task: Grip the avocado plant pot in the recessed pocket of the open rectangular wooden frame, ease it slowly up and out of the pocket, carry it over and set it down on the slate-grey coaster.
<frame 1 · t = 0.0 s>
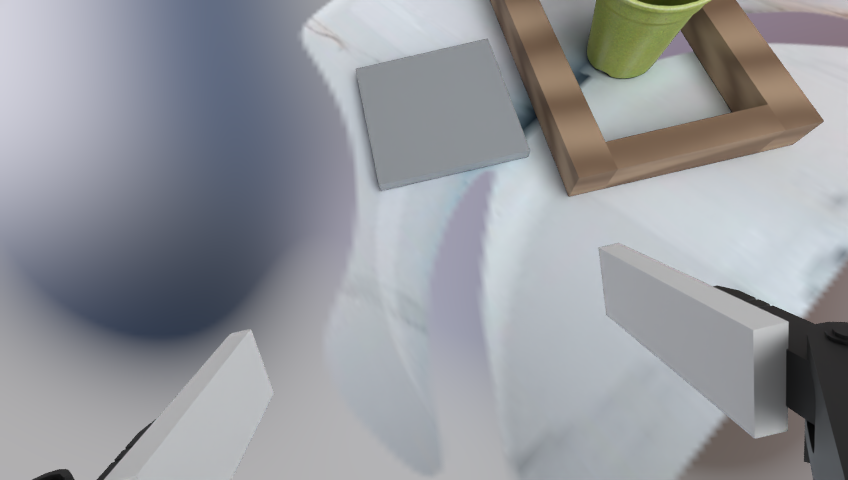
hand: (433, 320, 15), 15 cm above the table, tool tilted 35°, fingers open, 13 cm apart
open rectangular wooden frame: (619, 54, 38), on the table
plant pot: (618, 56, 38), resting in open rectangular wooden frame
slate coaster: (437, 114, 37), on the table
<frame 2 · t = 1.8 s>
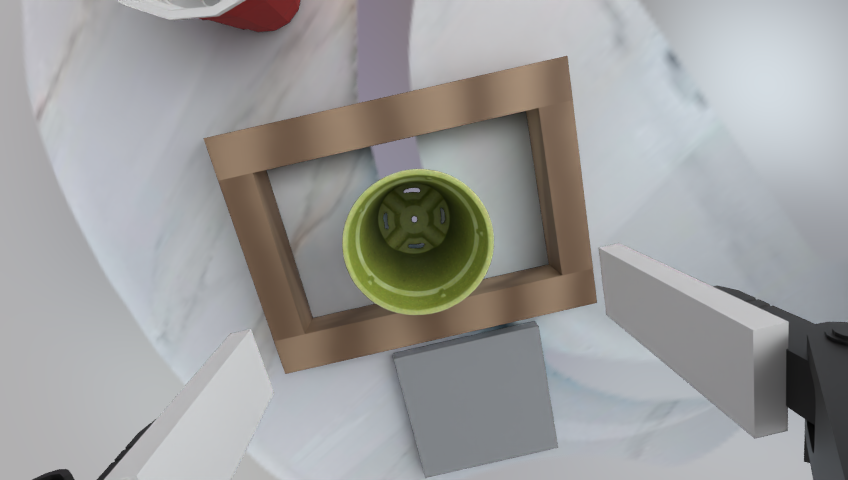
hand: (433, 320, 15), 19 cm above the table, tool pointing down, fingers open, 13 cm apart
open rectangular wooden frame: (414, 219, 33), on the table
plant pot: (414, 218, 33), resting in open rectangular wooden frame
slate coaster: (477, 398, 38), on the table
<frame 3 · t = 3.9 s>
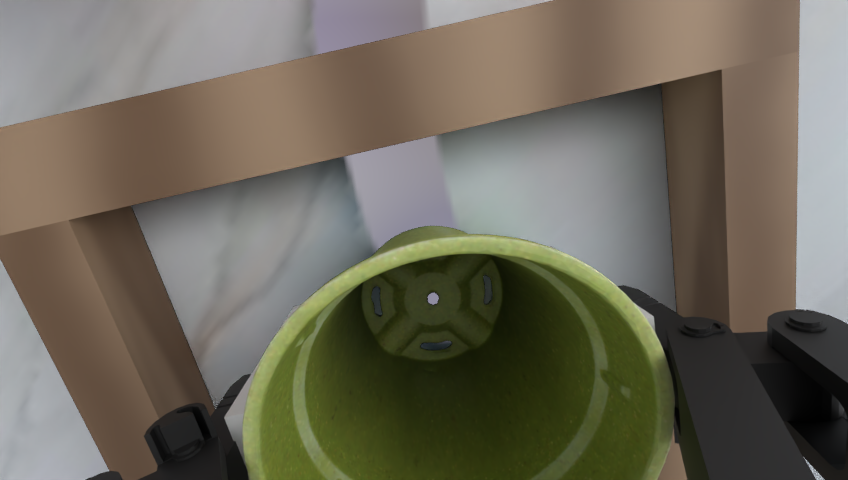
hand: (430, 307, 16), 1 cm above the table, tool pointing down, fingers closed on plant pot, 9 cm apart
open rectangular wooden frame: (432, 296, 17), on the table
plant pot: (431, 294, 17), resting in open rectangular wooden frame, touching gripper
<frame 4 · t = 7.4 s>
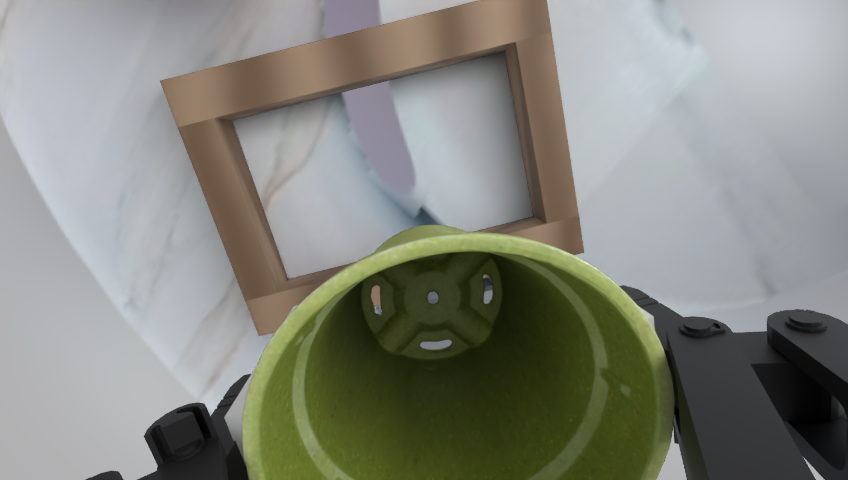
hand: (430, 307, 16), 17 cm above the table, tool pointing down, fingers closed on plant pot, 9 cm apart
open rectangular wooden frame: (390, 170, 32), on the table
plant pot: (431, 293, 17), point 16 cm above the table, touching gripper
slate coaster: (464, 361, 36), on the table
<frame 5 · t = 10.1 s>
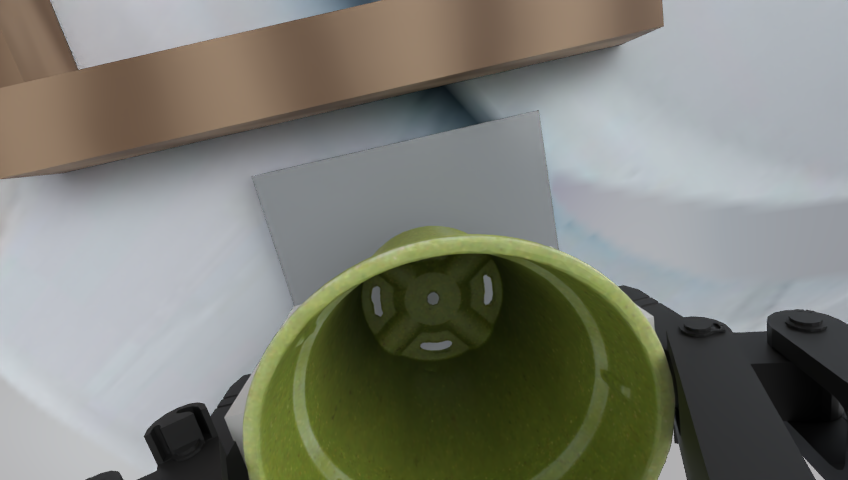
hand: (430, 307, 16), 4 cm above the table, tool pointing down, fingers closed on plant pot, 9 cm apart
plant pot: (431, 294, 17), point 3 cm above the table, touching gripper
slate coaster: (425, 272, 20), on the table
when the fingers open (2 cm above the table, at t = 11.0 s): plant pot moves 4 cm, resting on slate coaster.
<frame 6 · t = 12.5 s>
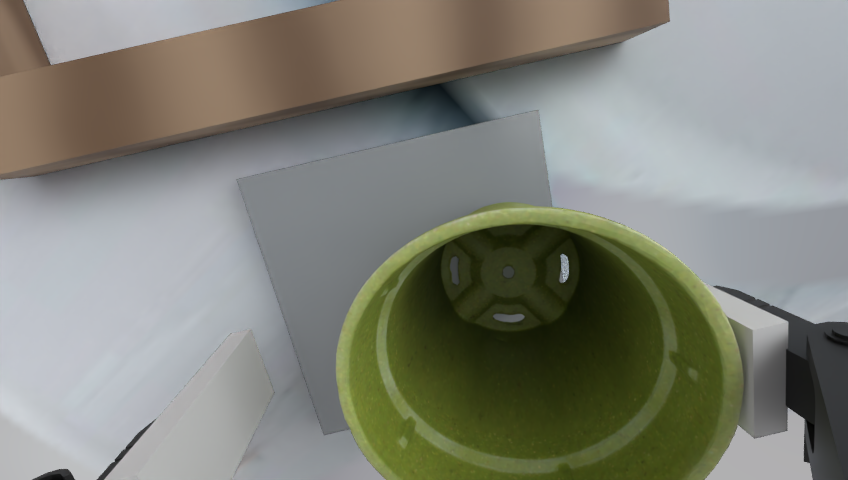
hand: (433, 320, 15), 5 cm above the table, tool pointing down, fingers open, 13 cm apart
plant pot: (507, 268, 18), point 2 cm above the table, touching gripper, slate coaster
slate coaster: (420, 278, 19), on the table
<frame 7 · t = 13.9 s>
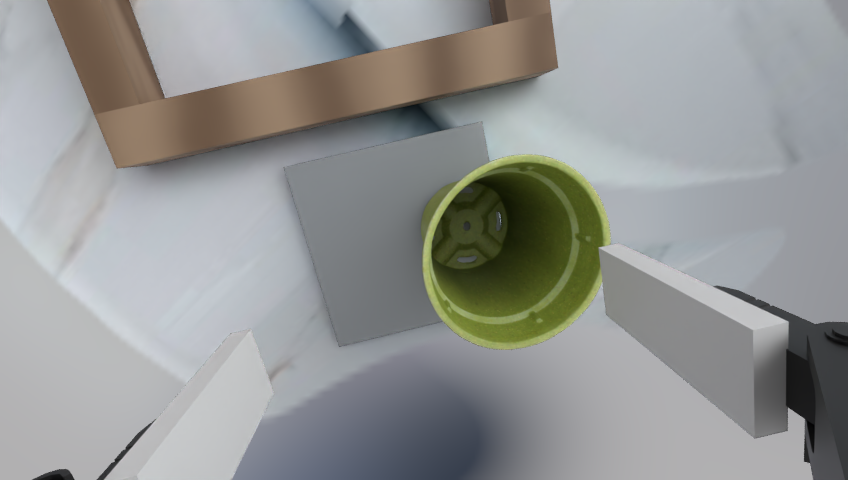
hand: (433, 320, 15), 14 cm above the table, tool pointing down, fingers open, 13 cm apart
plant pot: (463, 226, 27), point 1 cm above the table, touching slate coaster
slate coaster: (406, 236, 28), on the table
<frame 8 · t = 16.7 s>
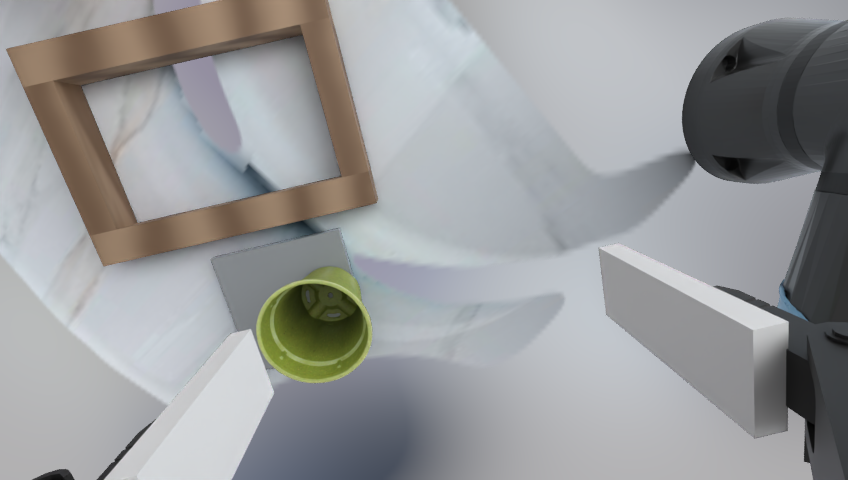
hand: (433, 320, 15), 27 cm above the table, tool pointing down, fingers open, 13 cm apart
open rectangular wooden frame: (219, 132, 38), on the table
plant pot: (331, 293, 42), point 1 cm above the table, touching slate coaster
slate coaster: (296, 300, 42), on the table
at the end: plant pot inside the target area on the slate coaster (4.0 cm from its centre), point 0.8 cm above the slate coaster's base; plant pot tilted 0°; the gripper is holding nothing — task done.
